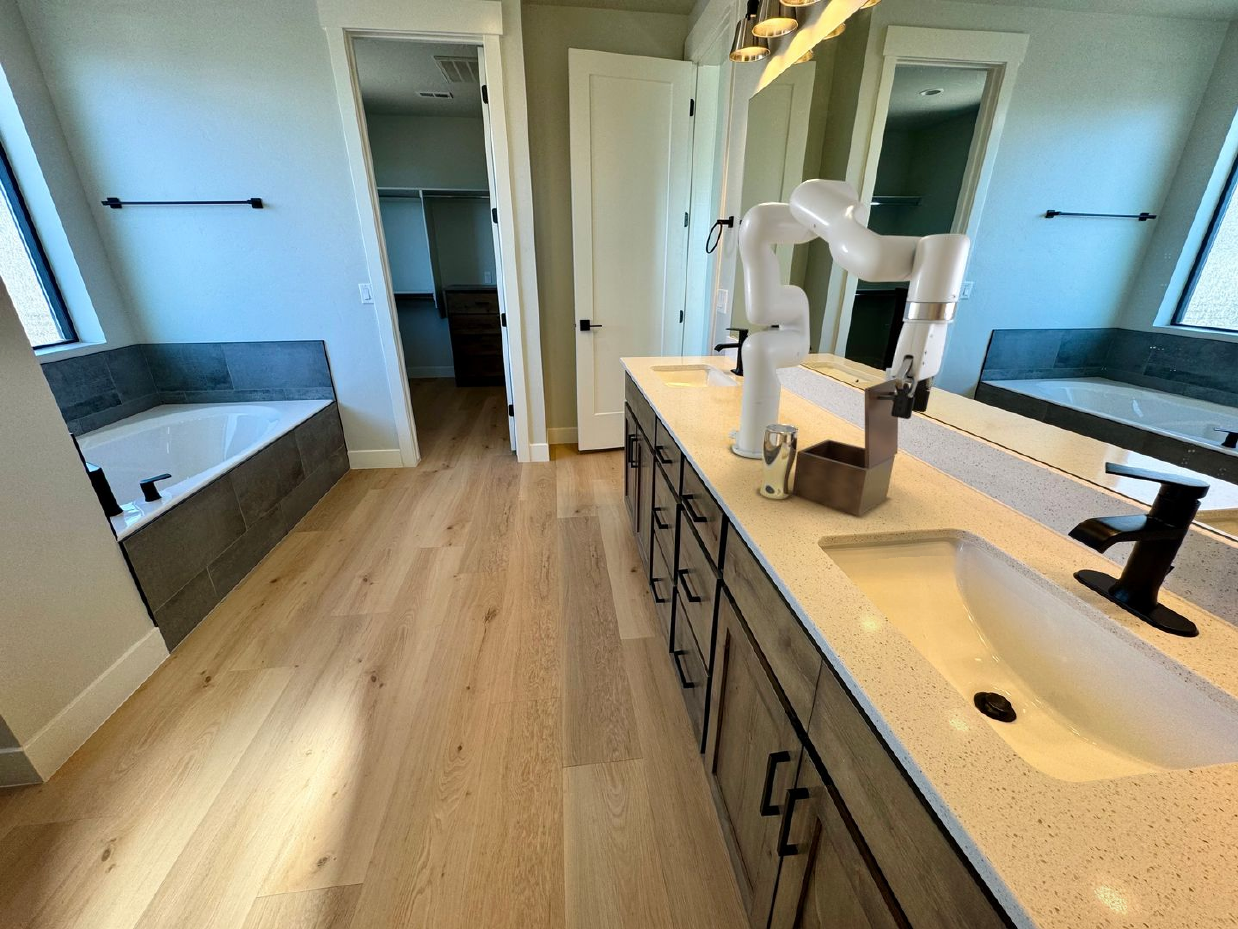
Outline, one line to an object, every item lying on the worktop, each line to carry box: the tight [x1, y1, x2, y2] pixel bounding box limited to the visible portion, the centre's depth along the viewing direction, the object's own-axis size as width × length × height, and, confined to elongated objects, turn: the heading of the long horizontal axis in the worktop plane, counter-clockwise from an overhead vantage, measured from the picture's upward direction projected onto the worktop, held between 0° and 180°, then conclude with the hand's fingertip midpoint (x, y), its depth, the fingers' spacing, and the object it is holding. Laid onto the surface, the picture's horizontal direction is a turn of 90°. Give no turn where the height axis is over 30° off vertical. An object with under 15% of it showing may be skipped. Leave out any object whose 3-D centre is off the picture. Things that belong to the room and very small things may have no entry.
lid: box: [864, 379, 915, 469], centre depth 94 cm, size 15×13×5 cm
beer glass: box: [759, 423, 799, 500], centre depth 105 cm, size 7×7×15 cm
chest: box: [791, 438, 896, 517], centre depth 104 cm, size 15×13×10 cm
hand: (908, 413), depth 91 cm, fingers closed on lid, 6 cm apart
